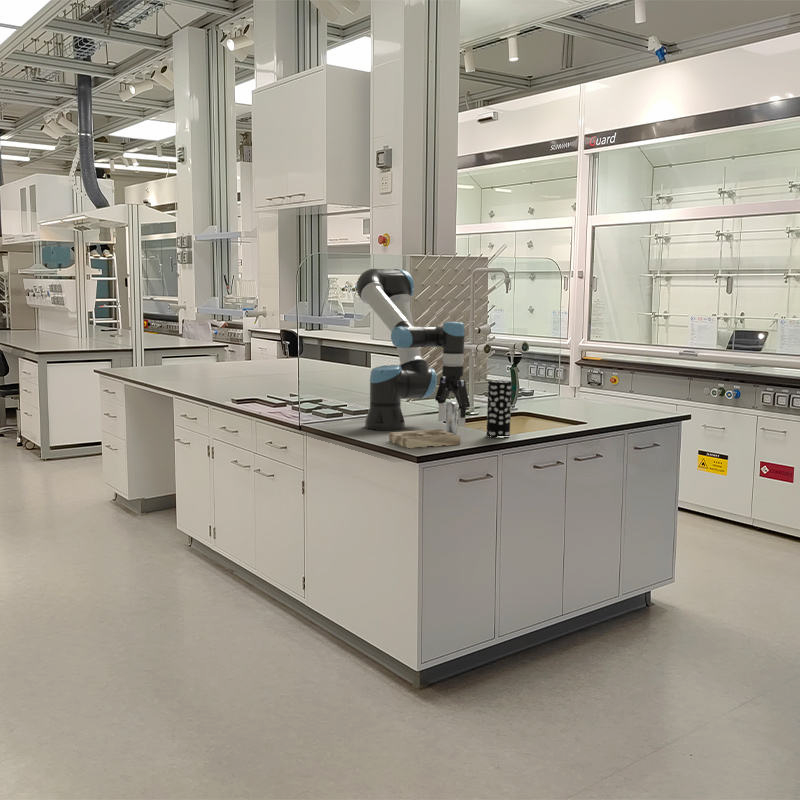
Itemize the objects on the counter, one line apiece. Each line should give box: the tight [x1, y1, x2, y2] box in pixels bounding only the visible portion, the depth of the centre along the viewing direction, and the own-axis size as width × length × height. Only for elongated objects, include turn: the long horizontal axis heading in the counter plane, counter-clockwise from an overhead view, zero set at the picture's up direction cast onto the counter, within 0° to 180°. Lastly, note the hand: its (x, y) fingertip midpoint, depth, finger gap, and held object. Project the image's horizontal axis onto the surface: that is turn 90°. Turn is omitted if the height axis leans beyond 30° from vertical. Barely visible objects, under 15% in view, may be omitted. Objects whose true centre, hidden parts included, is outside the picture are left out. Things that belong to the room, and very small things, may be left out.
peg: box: [445, 401, 458, 435], centre depth 286 cm, size 4×4×12 cm
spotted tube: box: [486, 379, 513, 438], centre depth 285 cm, size 8×8×20 cm
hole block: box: [388, 428, 461, 449], centre depth 272 cm, size 14×20×3 cm
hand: (451, 423), depth 286 cm, fingers open, 13 cm apart
